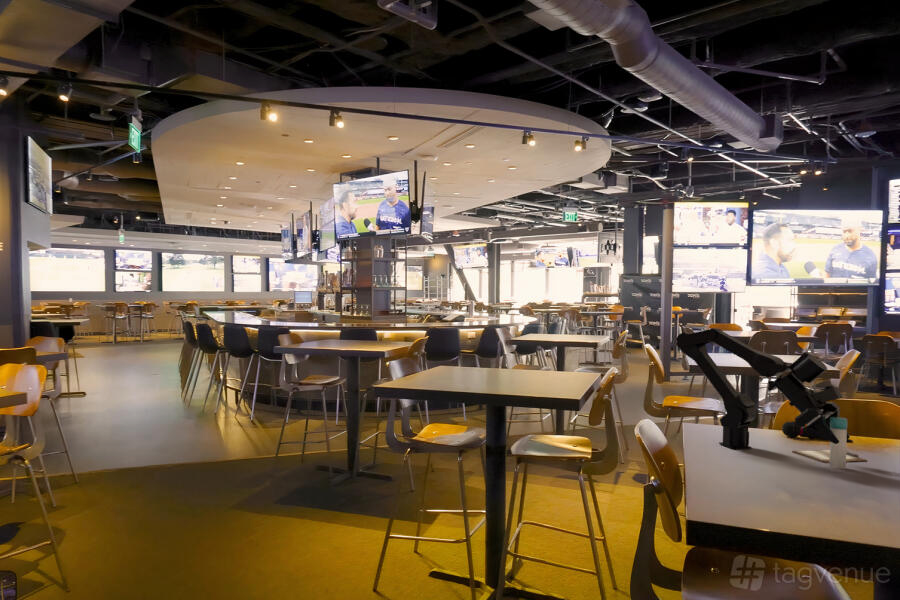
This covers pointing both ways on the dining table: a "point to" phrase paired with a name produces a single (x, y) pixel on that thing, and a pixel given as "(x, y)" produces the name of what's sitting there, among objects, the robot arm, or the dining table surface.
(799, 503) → the dining table surface
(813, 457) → the clipboard
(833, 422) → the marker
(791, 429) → the microphone
